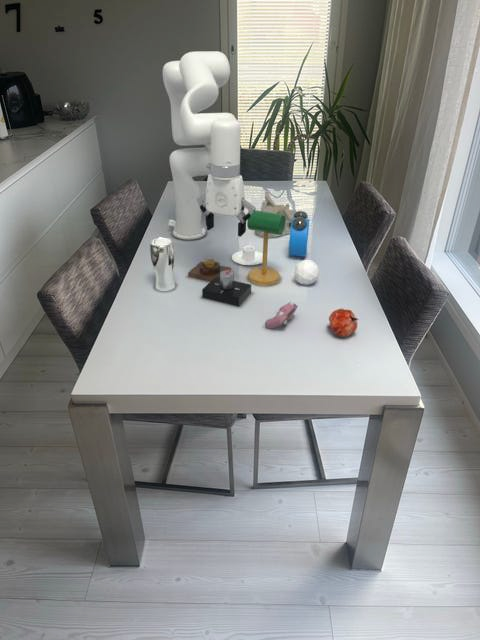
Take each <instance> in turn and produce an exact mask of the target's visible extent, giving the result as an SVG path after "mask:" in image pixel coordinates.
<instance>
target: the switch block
mask: <svg viewBox="0 0 480 640" xmlns="http://www.w3.org/2000/svg"><path fill="white" fill-rule="evenodd" d="M224 270H230V271H232V268H231V267H230V266H225V265H221V264H220V262H219V261H216V260H215V267H213V268H207V267H204V261H200V262H198V264H196V265H195V266H194V267H193V268H192V269H190V270H189V271H188V272H187V275H188V278H193V279H197V280H201V281H205V282H208V283H210V282H211V281H212V280H213V279H214V278H215V277H220V272H222V271H224Z"/></svg>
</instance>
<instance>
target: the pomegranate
mask: <svg viewBox="0 0 480 640" xmlns="http://www.w3.org/2000/svg"><path fill="white" fill-rule="evenodd" d="M359 320H360V319H359V318H357V317H356V315H355V313H354V312H353V311H352V310H351V309H344V308H339V309H335V310H333V311H332V312H331V313H330V315H329V317H328V321H329V328H330V329H331V330H332V332H333V333H334V335H336V336H338V337H343V338H344V337H348V336H350V335H351V334H353V333H355V331H356V330H357V328H358V321H359Z"/></svg>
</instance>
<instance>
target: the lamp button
mask: <svg viewBox="0 0 480 640" xmlns="http://www.w3.org/2000/svg"><path fill="white" fill-rule="evenodd" d="M215 261H216V260H215V259H214V258H206V259H204V260H203V262H204V267H207V268H213V267H215Z"/></svg>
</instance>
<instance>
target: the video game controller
mask: <svg viewBox="0 0 480 640" xmlns="http://www.w3.org/2000/svg"><path fill="white" fill-rule="evenodd" d="M298 307H299V306H298V304H296V303H295V302H292V301H290V302H288V303H286V304H284V305H282V306H280V308H279V309H278V312H277V313H276V315H274V316H273V317H271V318H269V319H267V320H265V322H264V326H265V328H267V329H275V328H278V327H282V325H287V323H288V321H289V320H290V319H291V318H290V317H291V316H292V315H293V314H294V313H295V312H296V311H297V309H298Z"/></svg>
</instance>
